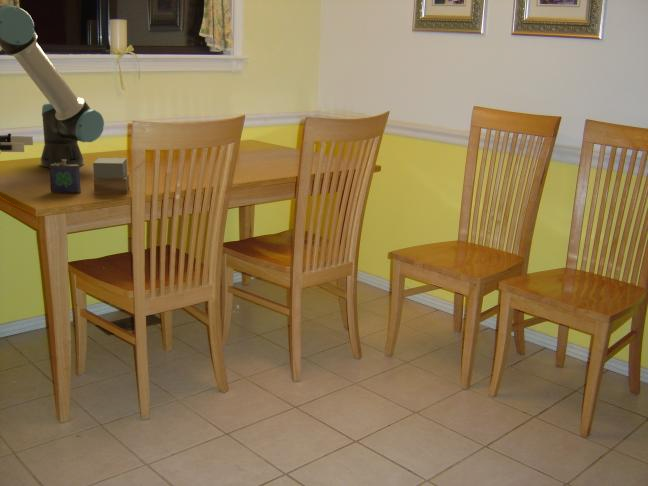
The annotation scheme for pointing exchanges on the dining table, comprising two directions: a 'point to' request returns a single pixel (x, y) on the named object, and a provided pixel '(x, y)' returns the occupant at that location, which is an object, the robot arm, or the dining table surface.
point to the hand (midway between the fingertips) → (28, 144)
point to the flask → (64, 178)
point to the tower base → (111, 186)
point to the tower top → (110, 168)
